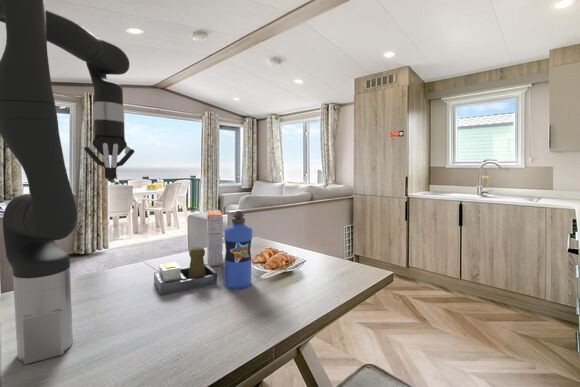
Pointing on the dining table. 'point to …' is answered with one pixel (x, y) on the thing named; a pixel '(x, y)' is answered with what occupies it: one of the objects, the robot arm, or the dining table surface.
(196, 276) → the cork
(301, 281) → the dining table surface
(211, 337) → the dining table surface
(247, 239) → the water bottle
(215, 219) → the cracker box
